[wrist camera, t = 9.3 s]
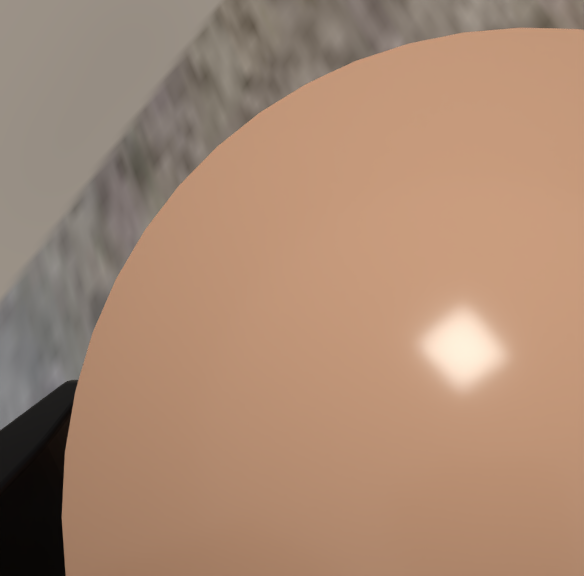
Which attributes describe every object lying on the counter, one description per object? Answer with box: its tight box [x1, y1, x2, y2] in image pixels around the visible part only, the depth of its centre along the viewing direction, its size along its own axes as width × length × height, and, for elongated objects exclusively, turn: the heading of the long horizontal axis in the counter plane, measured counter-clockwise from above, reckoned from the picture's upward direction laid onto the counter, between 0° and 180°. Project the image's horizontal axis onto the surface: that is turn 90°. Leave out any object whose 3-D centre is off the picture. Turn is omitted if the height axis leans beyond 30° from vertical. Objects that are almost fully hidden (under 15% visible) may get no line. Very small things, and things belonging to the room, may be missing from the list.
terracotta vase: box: [62, 28, 584, 576], centre depth 9 cm, size 5×5×14 cm
